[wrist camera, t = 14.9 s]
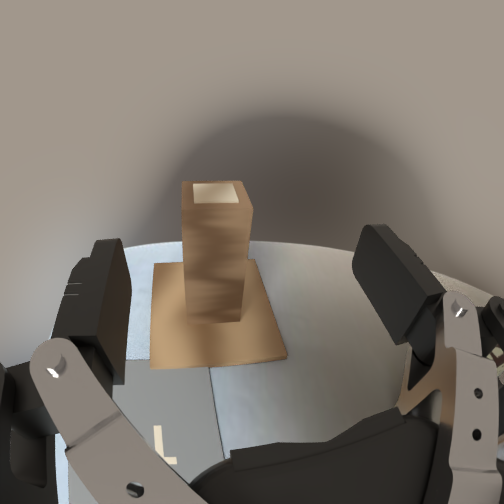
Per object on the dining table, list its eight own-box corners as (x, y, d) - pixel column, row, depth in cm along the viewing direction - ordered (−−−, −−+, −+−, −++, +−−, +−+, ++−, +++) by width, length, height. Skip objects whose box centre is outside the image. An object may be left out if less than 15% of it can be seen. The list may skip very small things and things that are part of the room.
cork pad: (253, 262, 36) (254, 259, 36) (286, 358, 25) (287, 355, 25) (154, 267, 34) (154, 263, 33) (150, 370, 23) (149, 366, 22)
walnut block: (232, 286, 32) (241, 179, 25) (239, 321, 28) (253, 206, 21) (185, 288, 31) (182, 179, 23) (187, 324, 27) (181, 207, 20)
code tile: (207, 358, 25) (206, 357, 25) (241, 537, 12) (241, 537, 12) (78, 360, 22) (78, 359, 22) (72, 530, 9) (71, 530, 9)
